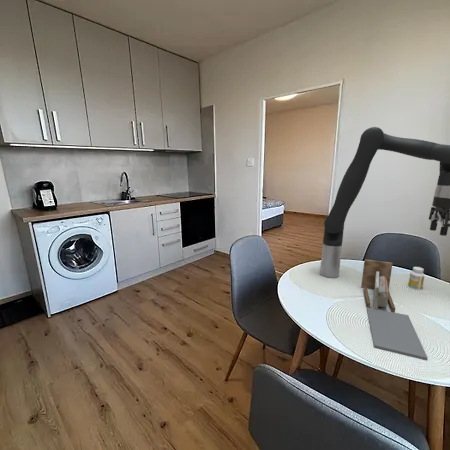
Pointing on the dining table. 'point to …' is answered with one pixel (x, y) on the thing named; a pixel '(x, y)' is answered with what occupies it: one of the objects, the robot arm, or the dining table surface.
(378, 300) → the packaged product
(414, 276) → the supplement bottle
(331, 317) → the dining table surface
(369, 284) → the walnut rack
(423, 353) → the charcoal pad
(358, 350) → the dining table surface
